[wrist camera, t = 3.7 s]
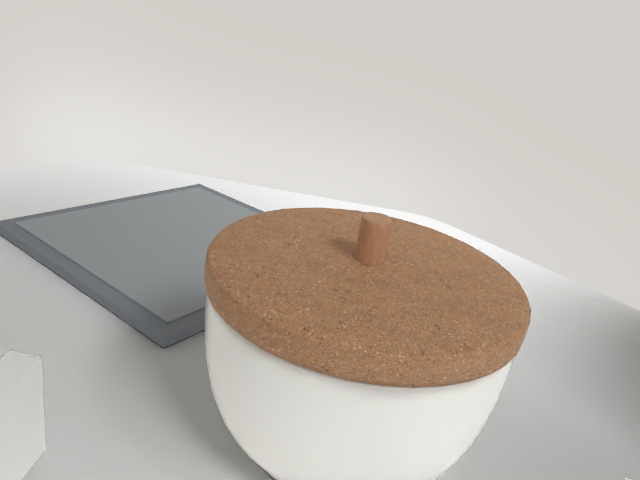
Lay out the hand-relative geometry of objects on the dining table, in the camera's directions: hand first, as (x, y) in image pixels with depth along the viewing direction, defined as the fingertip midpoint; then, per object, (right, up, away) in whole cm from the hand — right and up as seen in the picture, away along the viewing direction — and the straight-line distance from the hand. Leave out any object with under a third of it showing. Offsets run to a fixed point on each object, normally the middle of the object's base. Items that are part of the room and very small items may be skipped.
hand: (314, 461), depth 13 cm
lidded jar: (+1, -3, +9) cm, 10 cm away
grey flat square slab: (-8, +5, +23) cm, 25 cm away
